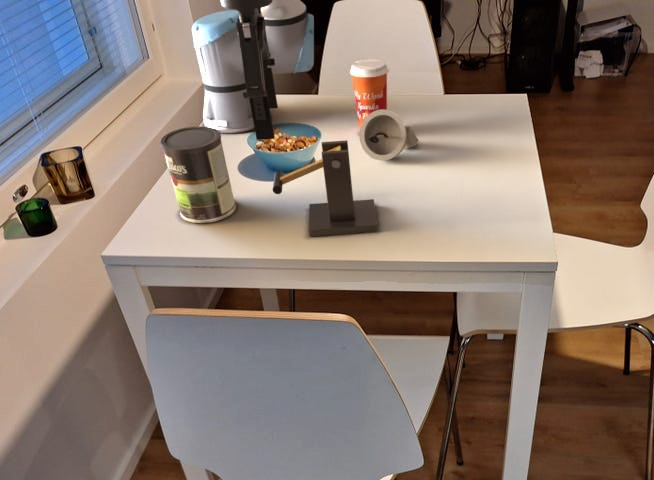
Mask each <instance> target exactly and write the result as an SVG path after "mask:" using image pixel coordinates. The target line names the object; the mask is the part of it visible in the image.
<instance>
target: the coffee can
mask: <svg viewBox="0 0 654 480" xmlns="http://www.w3.org/2000/svg"><path fill="white" fill-rule="evenodd" d="M159 143H160V147H161V148H162V151H163V155H164V158H165V162H166V165H167V169H168V172H169V176H170V180H171V183H172V186H173V190H174V193H175V198H176V201H177V205H178V208H179V212H180V213H179V214H180V217H181V218H182V219H183V220H184V221H186V222H188V223H193V224H209V223H215V222H219V221H221V220H224V219H226V218H229V216H231V215H233V213H234V212H235V211H236V209H237V205H236V202H235V198H234V193H233V189H232V184H231V180H230V175H229V170H228V166H227V162H226V157H225V151H224V147H223V142H222V133H220V132H219V131H218V130H216V129H214V128H210V127H205V126H188V127H182V128H179V129H175V130H173V131H170V132H168V133H166V134H164V135H163V136H162V137H161V139H160V141H159Z"/></svg>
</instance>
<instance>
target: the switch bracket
mask: <svg viewBox="0 0 654 480" xmlns="http://www.w3.org/2000/svg"><path fill="white" fill-rule="evenodd" d="M337 146H341V148H342V150H338V151H328V150H330V149H333V148H335V147H337ZM321 150H322V151H321V159H322V161H323V167H322V168H323V176H324V183H325V191H326V199H327V202H317V203H309V204H308V237H309V238H311V237H323V236H324V237H325V236H337V235H338V236H339V235H350V234H351V235H352V234H362V233H374V232H378V221H377V214H376V213H377V212H376V205H375V199H374V198H371V199H360V200H359V199H357V200H354V194H353V182H352V174H351V173H352V172H351V161H350V152H349V142H348V140H347V139H346V140H334V141H322V142H321Z"/></svg>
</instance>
